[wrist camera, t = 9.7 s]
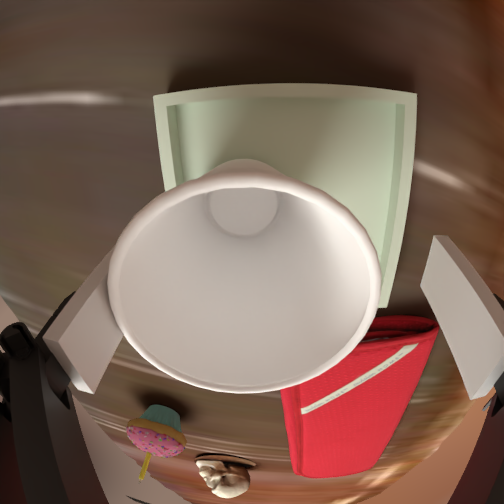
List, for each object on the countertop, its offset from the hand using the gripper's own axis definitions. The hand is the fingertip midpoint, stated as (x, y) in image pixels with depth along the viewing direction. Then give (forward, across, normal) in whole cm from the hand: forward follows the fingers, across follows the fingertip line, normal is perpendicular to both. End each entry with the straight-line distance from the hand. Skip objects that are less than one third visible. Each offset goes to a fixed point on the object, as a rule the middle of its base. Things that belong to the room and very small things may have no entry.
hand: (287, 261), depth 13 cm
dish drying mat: (+9, +8, -32) cm, 34 cm away
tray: (+9, 0, -1) cm, 9 cm away
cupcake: (+8, -17, -32) cm, 37 cm away
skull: (+8, -10, -52) cm, 53 cm away
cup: (+8, -3, 0) cm, 8 cm away
